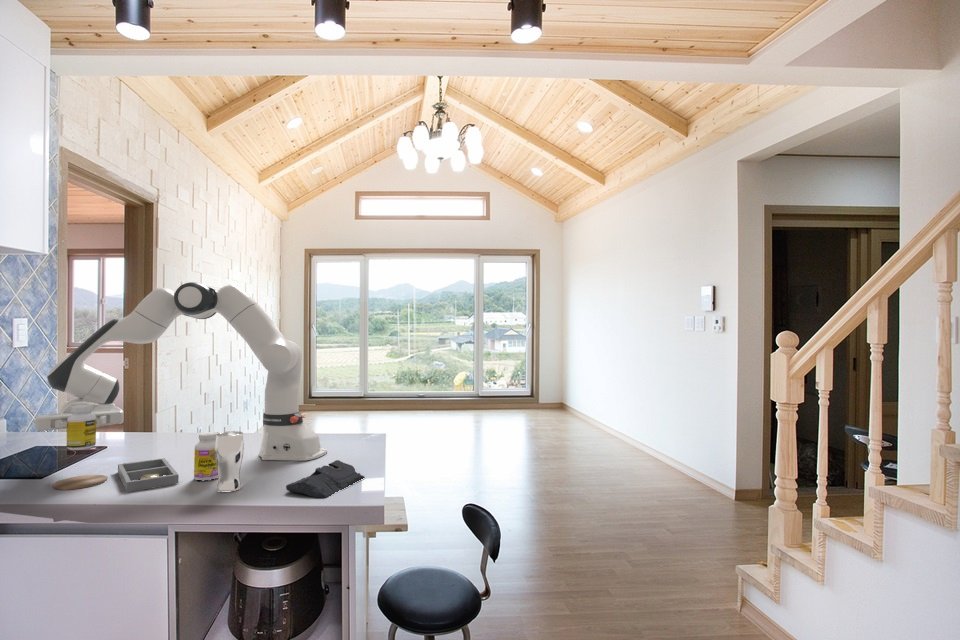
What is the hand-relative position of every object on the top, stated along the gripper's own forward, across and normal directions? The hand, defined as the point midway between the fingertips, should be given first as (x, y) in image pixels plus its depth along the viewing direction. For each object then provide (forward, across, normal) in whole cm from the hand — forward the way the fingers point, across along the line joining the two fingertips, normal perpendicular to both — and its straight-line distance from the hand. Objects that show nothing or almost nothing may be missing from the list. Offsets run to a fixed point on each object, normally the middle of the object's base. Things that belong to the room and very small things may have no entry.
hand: (82, 423), depth 145 cm
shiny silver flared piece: (+30, +31, +17) cm, 46 cm away
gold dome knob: (+10, +15, +17) cm, 25 cm away
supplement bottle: (+15, +28, +17) cm, 36 cm away
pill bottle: (-1, 0, +7) cm, 7 cm away
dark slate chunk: (+42, +53, +17) cm, 69 cm away
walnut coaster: (-1, 0, +17) cm, 17 cm away
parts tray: (+5, +15, +17) cm, 23 cm away
